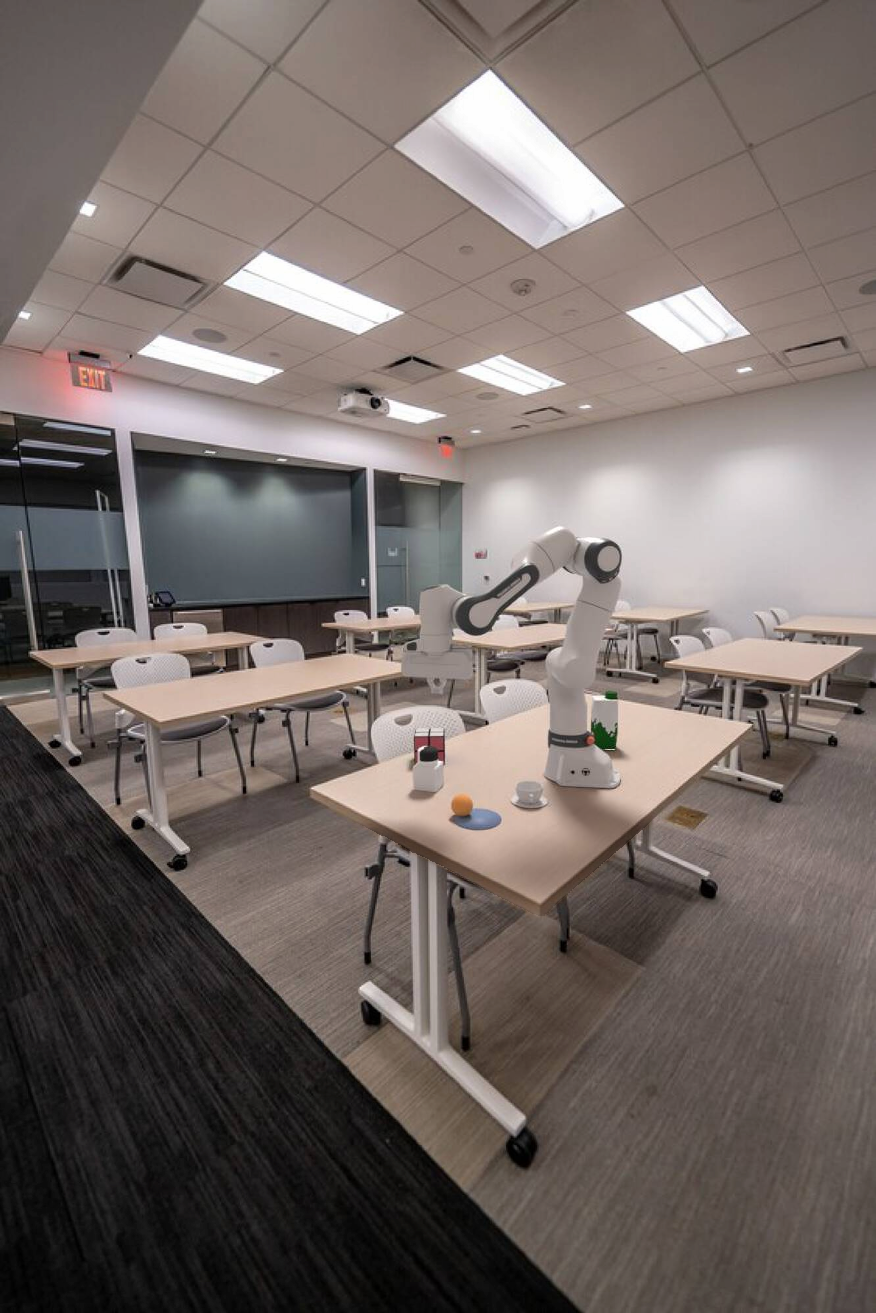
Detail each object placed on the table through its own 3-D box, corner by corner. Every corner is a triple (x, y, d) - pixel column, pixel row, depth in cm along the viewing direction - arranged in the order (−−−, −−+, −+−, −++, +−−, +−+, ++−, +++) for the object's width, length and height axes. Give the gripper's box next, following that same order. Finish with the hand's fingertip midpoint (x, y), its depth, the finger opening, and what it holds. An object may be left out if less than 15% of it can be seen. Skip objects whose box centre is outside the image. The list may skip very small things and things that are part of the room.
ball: (462, 787, 143) (448, 803, 144) (458, 792, 137) (445, 808, 138) (478, 801, 142) (465, 818, 143) (475, 806, 137) (462, 823, 137)
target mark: (506, 812, 142) (506, 811, 142) (494, 832, 131) (494, 832, 130) (462, 806, 146) (462, 805, 146) (447, 825, 135) (447, 824, 135)
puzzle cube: (444, 765, 179) (444, 736, 177) (414, 766, 179) (413, 736, 177) (445, 755, 188) (444, 727, 187) (416, 756, 189) (415, 728, 187)
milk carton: (618, 751, 188) (619, 695, 186) (591, 750, 190) (592, 694, 187) (615, 744, 197) (616, 689, 194) (589, 743, 199) (590, 689, 196)
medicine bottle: (444, 783, 162) (443, 745, 161) (436, 792, 156) (435, 752, 154) (421, 781, 165) (420, 743, 163) (412, 790, 158) (411, 750, 156)
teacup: (509, 795, 154) (509, 779, 153) (544, 794, 153) (544, 778, 153) (512, 809, 144) (512, 793, 143) (550, 809, 143) (550, 792, 143)
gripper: (476, 643, 148) (476, 693, 150) (407, 641, 155) (408, 689, 157) (468, 646, 142) (469, 698, 144) (397, 644, 149) (399, 693, 151)
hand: (437, 693), depth 151 cm, fingers closed
